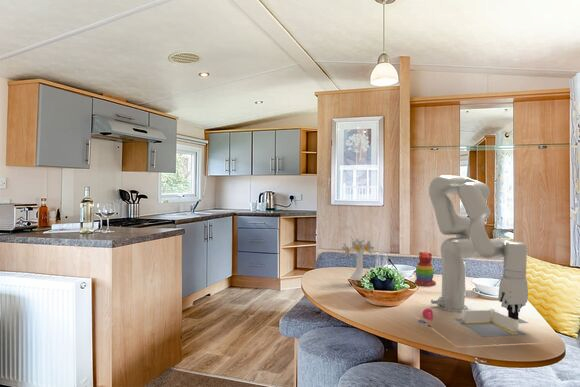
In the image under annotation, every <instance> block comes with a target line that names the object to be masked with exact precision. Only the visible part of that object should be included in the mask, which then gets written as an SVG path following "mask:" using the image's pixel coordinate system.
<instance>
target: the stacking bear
mask: <svg viewBox="0 0 580 387" xmlns="http://www.w3.org/2000/svg"><path fill="white" fill-rule="evenodd" d="M432 256H433V254H432V252H427V251H426V252H425V251H424V252H422V251H420V252H418V259H419V260H418V261H419V262H417V264H416V269H415V281H414V283H415V284H416V285H417V284H418V286H421V287H433V286H435V285H437V282H436V281H435V280H433V278H434V273H435V272H434V271H435V270H434V267H433V264H432V263H431V262H432V259H433V258H432Z"/></svg>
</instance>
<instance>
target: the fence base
mask: <svg viewBox="0 0 580 387" xmlns="http://www.w3.org/2000/svg"><path fill="white" fill-rule="evenodd" d="M493 311H496V310H495V308H490V309H468V310H464V309H463V310H462V312H461V318H454V321H457V322H458V323H460V324H461V325H463V326H464V327H466V328H468V329H469V330H471V331H473V332H474V333H476V334H477V335H479V336H480V337H483V338H491V337H494V338H495V337H511V336H514V337H516V336H528V335H527V334H526V333H525V332H522V331H520V330H519V329H518V333H514V332H513V331H510V330H508V329H506V328H504V327H502V326H500V325H498V324H496V323H494V322H493ZM518 324H529V322H527V321H525V320H523V319H521V318H520V317H518Z"/></svg>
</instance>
